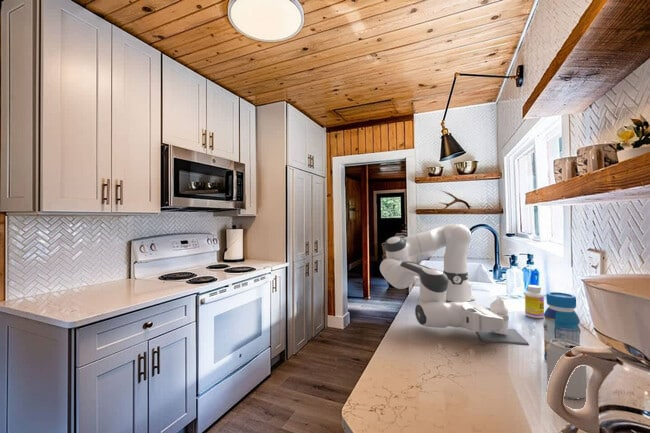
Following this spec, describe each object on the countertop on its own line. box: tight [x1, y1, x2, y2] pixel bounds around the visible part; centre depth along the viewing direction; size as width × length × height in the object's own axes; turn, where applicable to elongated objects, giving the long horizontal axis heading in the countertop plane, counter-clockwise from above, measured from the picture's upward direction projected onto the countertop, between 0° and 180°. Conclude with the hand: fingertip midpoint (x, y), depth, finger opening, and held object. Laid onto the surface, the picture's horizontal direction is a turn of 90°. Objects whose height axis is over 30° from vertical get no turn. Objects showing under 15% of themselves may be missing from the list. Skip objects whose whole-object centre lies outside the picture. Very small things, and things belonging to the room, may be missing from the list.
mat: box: [476, 328, 530, 346], centre depth 108 cm, size 13×14×1 cm
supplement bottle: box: [524, 284, 545, 319], centre depth 129 cm, size 7×7×13 cm
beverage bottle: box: [543, 291, 581, 363], centre depth 87 cm, size 8×8×20 cm
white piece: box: [489, 297, 509, 334], centre depth 108 cm, size 6×12×6 cm
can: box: [546, 339, 587, 400], centre depth 73 cm, size 8×8×12 cm
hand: (501, 314), depth 108 cm, fingers open, 6 cm apart
